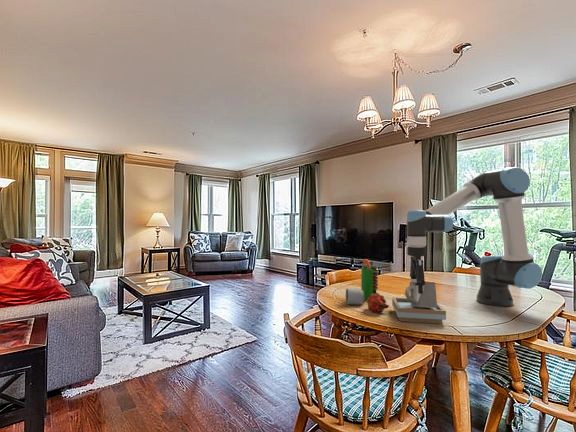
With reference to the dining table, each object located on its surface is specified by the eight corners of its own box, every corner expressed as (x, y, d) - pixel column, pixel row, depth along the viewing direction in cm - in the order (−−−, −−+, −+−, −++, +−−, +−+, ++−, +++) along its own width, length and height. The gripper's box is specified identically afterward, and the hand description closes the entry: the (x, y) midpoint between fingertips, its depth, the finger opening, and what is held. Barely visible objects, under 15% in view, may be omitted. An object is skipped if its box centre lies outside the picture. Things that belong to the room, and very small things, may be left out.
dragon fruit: (373, 310, 148) (382, 322, 136) (359, 300, 147) (367, 311, 135) (384, 296, 148) (394, 306, 136) (370, 286, 146) (379, 296, 135)
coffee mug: (428, 306, 135) (426, 282, 137) (442, 307, 126) (440, 282, 128) (399, 305, 134) (397, 281, 136) (410, 307, 124) (409, 281, 126)
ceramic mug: (365, 306, 149) (364, 290, 149) (347, 306, 149) (347, 290, 149) (360, 300, 160) (359, 285, 160) (344, 300, 160) (343, 285, 160)
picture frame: (434, 311, 140) (434, 299, 140) (446, 325, 123) (446, 310, 123) (392, 309, 144) (392, 297, 144) (397, 322, 126) (397, 308, 126)
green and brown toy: (379, 300, 159) (379, 261, 160) (361, 299, 161) (361, 260, 161) (377, 295, 169) (377, 258, 169) (360, 294, 171) (360, 258, 171)
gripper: (402, 243, 146) (403, 290, 146) (412, 248, 122) (412, 304, 122) (420, 244, 144) (420, 291, 144) (433, 249, 121) (433, 305, 121)
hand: (417, 297), depth 133 cm, fingers open, 11 cm apart
